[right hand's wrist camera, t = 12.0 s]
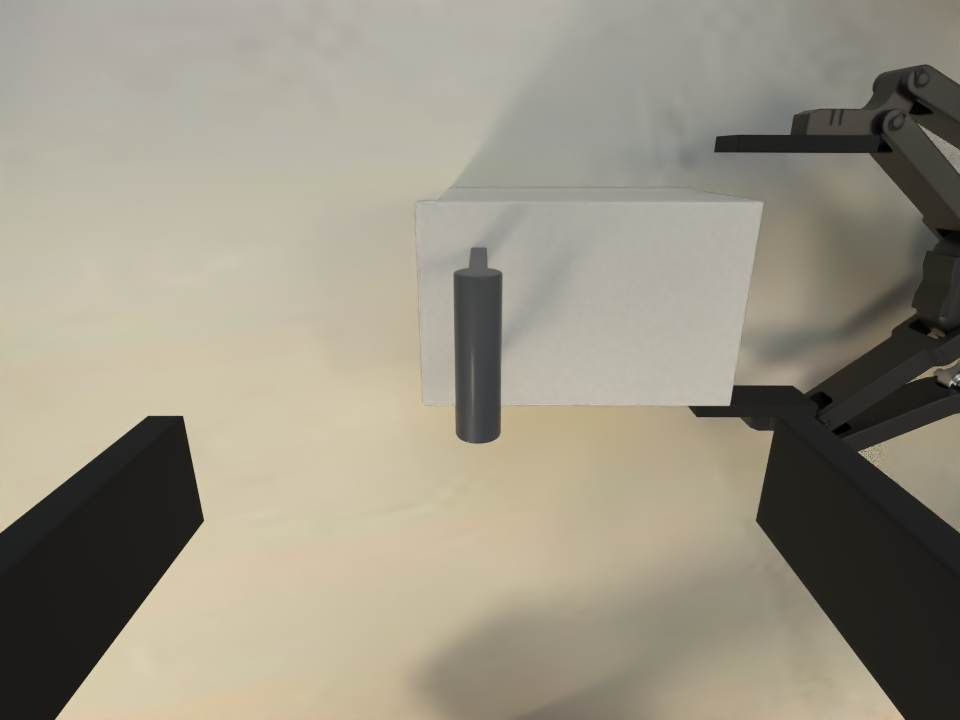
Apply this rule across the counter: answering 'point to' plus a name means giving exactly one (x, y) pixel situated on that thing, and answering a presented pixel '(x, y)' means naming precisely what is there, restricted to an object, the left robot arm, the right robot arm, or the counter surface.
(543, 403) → the lid
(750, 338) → the counter surface
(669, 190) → the white cabinet body
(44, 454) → the counter surface
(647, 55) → the counter surface
